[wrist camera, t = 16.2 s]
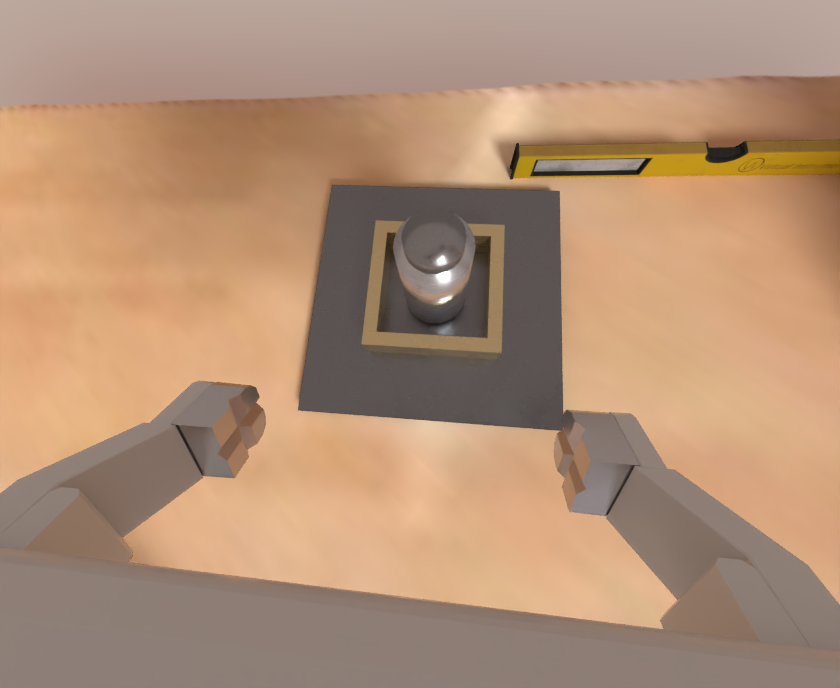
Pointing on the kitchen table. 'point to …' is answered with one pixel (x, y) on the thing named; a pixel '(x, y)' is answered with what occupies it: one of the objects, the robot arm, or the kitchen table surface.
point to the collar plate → (449, 341)
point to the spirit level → (676, 159)
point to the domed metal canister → (434, 263)
